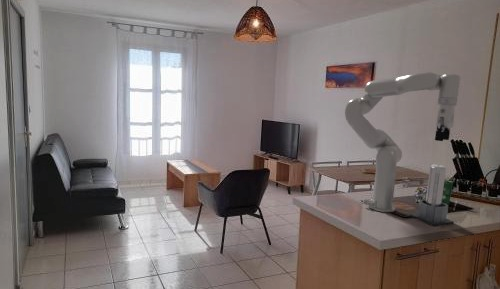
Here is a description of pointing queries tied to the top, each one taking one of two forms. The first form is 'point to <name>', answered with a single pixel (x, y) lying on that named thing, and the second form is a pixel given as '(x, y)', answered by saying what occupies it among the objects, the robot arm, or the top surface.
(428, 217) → the collar
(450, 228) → the top surface
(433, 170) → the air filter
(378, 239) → the top surface
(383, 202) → the robot arm
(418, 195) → the passion flower
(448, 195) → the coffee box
